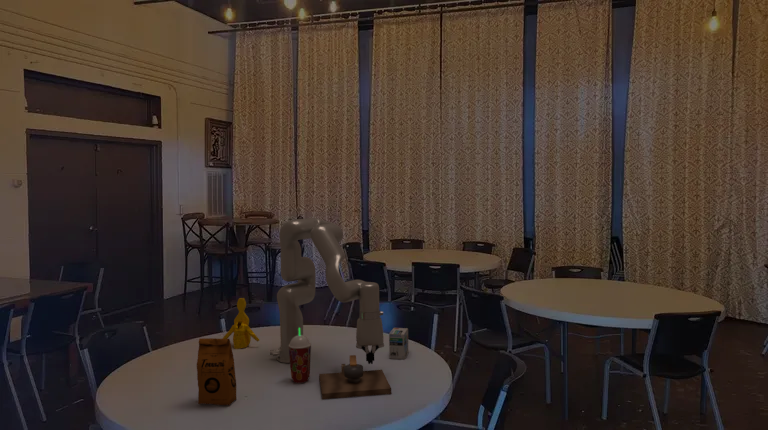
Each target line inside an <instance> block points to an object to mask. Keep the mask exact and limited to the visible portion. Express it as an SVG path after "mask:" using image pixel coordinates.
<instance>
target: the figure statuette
mask: <svg viewBox="0 0 768 430" xmlns="http://www.w3.org/2000/svg"><path fill="white" fill-rule="evenodd" d="M236 308H237V310H238V314H237V315H236V316H235V318H234V320H233V323H234V324H232V325H231V327H230V328H229V330H228V331H227V332H226V333H225V335H224V336H223V337H222V338H221V339H229V338H230V336H231V335H232V342H233V349H235V350H239V349H244V348H248V347H249V345H250V344H251V341H252V339H253V340H255V341H256V342H259V341H260V338H259V337H258V336H257V334H256V333H255V332H254V331H253V329H252V328H251V327H250V326H249V325H250V318H249V316H248V315H247V314H246V312H245V309H246V308H247V301H246V299H245V297H239V298H238V299H237V303H236Z"/></svg>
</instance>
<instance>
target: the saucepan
mask: <svg viewBox="0 0 768 430" xmlns="http://www.w3.org/2000/svg"><path fill="white" fill-rule="evenodd" d="M363 371H364V365H362V364H358V362H357V355H356V354H353V355H349V364H346V366H344V377H346V378H351V379H355V378H360V377H362V376H363Z"/></svg>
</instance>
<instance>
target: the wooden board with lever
mask: <svg viewBox="0 0 768 430" xmlns="http://www.w3.org/2000/svg"><path fill="white" fill-rule="evenodd" d="M346 365H347V364H346V363H340V370H341V371H340V372H328V373H319V375H318V376H319V377H318V378H319V386H320V392H321V393H320V394H321V399H322V400H330V399H331V400H332V399H344V398H345V399H347V398H357V397H360V398H361V397H368V396H369V397H370V396H371V397H372V396H382V395H391V394H392V387H391V385H390V383H389V381H388V379H387V377H386V374H385V373H384V370H383V369H370V370H363V376H362V377H360V378H355V379H351V378H346V377H344V366H346Z"/></svg>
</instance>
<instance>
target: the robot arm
mask: <svg viewBox="0 0 768 430" xmlns="http://www.w3.org/2000/svg"><path fill="white" fill-rule="evenodd" d="M278 234H279V235H278V236H279V243H280V244H279V245H280V246H279V247H280V277H281V278H282V280H283V281H285V282H288V283H289V282H295V281H297V282H295V283H290V284H286V285H284V286H282V287H280V288H279V289H278V291H277V293H276V301H277V305H278V311H279V324H280V325H279V327H280V347H279V348H278V349H271V350H270V351H269V355H270V356H272V357H274V356H275V357H276V356H277V357H276V359H277V361H278V362H279V363H283V364H290V356H289V346H288V345H289V344H290V341H291V340H292V338H293V337H295V336H297V335H299V328H300V335H304V318H303V313H302V311H301V309H300V306H302V305H305V304H308V303H311V302H312V301H313V300H314V299H315V296H316V275H317V274H316V272H317V271H316V266H315V262H314V261H313V259H311V258H310V257H307V256H302V247H301V244H300V242H299V241H300V240H308V239H310V240H311V241H312V243H313V244H314V246H315V248H316V250H317V251H318V253H319V255H320V256H321V258H322V260H323V262H324V264H325V280H326V283H327V287H328V288H329V290H330V291H331V293H332V296H333V298H335V300H337V301H338V302H339V303H343V304H345V303H349V302H352V301H353V302H354V301H356V300H359V317H358V318H357V320H356V332H355V335H356V336H355V338H356V339H355V340H356V345H355V348H356V349H357V350H359V349H360V350H362V351H363V352H365V360H366V362H367V364H368V365H373V363H374V362H375V353H376V352H377V351H378V350H379V349H380V348H381V349H382V348H384V347H385V344H384V328H383V321H382V317H381V316H384V311H382V310H380V286H379V283H377V282H373V281H372V282H371V281H365V280H362V279H352V280H348V281H345V280H344V279H343V277H342V275H341V273H340V269H339V268H340V263H342V261H343V260H344V259H345V256H346V254H345V252H344V250H343V248H342V247H341V245H340V243H341V241H342V240H343V237H344V233H343V230H342V228H341V226H340V225H338V224H337V223H335V222H330V221H327V220H323V219H320V218H316V217H309V218H296V219H291V220H287V221H286V222H284V223H283V224H282V226H281V227H280V229H279V233H278ZM369 346H370V347H371V349H370V350H369Z"/></svg>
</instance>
